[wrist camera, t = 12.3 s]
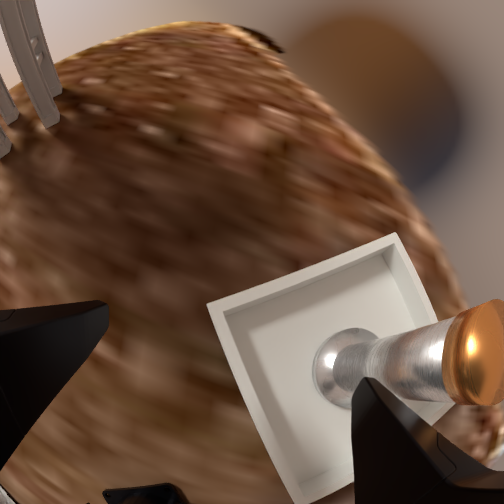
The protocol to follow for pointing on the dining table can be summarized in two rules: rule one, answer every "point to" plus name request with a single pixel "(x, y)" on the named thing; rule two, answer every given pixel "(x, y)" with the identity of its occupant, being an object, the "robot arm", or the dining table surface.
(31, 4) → the stool
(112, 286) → the dining table surface
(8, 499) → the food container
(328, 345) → the pin
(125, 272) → the dining table surface
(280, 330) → the pin tray
